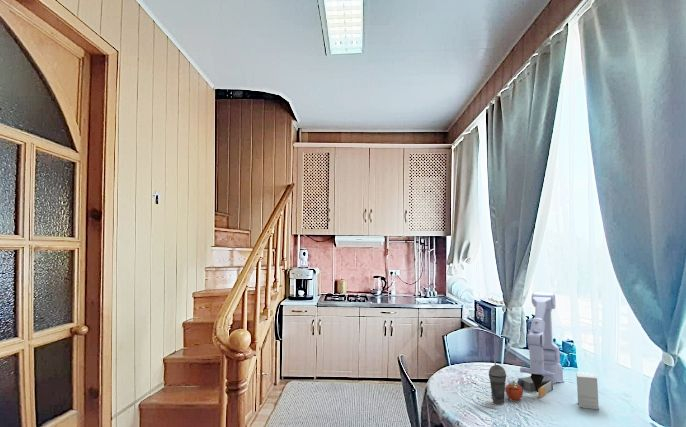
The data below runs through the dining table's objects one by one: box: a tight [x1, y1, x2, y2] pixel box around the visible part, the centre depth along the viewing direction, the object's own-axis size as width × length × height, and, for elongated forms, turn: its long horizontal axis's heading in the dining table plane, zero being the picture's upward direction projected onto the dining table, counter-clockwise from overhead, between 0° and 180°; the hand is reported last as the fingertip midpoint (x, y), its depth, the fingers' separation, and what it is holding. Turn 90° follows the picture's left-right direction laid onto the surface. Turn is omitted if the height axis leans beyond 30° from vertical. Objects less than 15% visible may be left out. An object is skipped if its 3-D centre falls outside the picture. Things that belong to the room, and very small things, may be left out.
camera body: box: [516, 376, 551, 393], centre depth 210 cm, size 13×8×5 cm, turn 108°
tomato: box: [505, 380, 524, 402], centre depth 196 cm, size 7×7×8 cm
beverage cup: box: [488, 354, 507, 405], centre depth 193 cm, size 7×7×20 cm
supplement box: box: [576, 371, 600, 410], centre depth 187 cm, size 7×7×13 cm
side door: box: [537, 381, 554, 398], centre depth 203 cm, size 15×1×4 cm, turn 136°
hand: (537, 391), depth 199 cm, fingers closed
